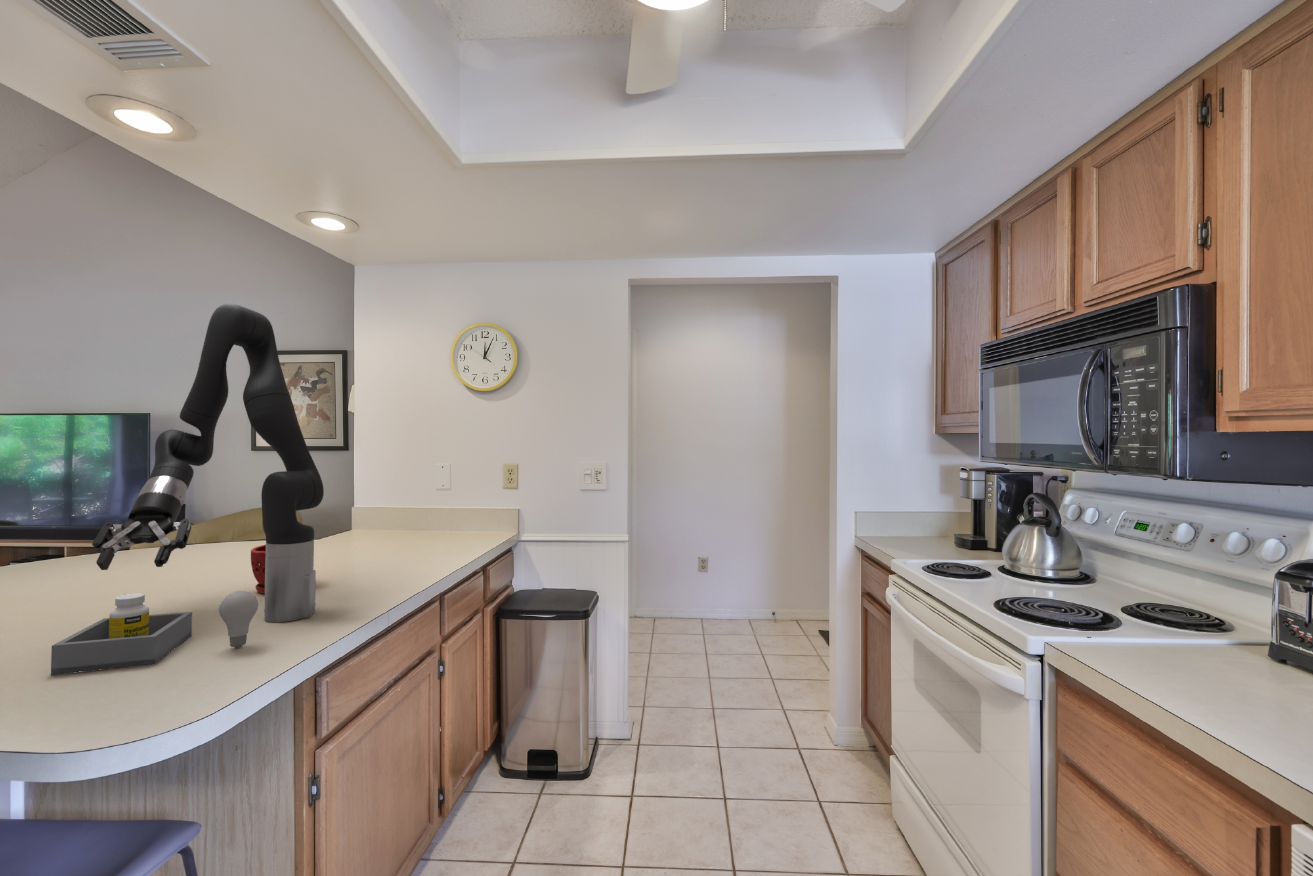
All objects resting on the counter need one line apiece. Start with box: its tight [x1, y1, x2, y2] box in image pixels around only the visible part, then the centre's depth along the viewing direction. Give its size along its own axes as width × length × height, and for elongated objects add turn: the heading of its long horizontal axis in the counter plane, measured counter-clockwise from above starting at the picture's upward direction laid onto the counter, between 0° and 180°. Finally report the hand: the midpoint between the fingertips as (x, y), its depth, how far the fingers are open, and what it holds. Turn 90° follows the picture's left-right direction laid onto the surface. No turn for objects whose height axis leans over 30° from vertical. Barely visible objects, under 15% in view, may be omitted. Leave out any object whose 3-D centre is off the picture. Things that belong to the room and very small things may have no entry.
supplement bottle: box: [108, 592, 150, 639], centre depth 102 cm, size 5×5×10 cm
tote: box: [50, 611, 193, 676], centre depth 102 cm, size 14×15×5 cm
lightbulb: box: [218, 590, 259, 649], centre depth 106 cm, size 6×6×11 cm
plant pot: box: [250, 544, 266, 594], centre depth 147 cm, size 13×13×12 cm
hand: (130, 566), depth 107 cm, fingers open, 8 cm apart
